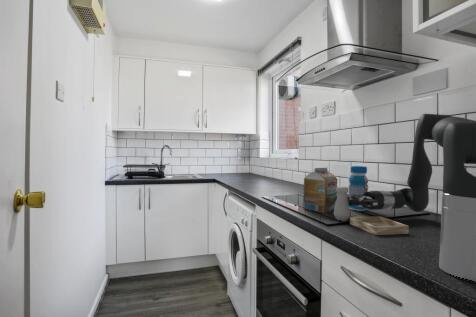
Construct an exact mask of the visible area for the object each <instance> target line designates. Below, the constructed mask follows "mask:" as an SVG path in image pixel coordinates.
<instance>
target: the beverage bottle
mask: <svg viewBox="0 0 476 317" xmlns="http://www.w3.org/2000/svg"><path fill="white" fill-rule="evenodd" d="M367 172H368V168H367V166H365V165H364V166H362V165H351V166H350V174H351V175H350V176H349V179H348V182H349V183H348V184H347V187H348V190H349V191H348V193H347V194H355V195H363V194H364V193H365V192H366V191H369V185H368V183H369V179H368V177H367ZM348 206H349V205H348ZM349 210H351V211H355V210H356V212H363V211H365V210H366V211H367V210H368V209H366V208H364V207H359V206H349Z"/></svg>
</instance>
